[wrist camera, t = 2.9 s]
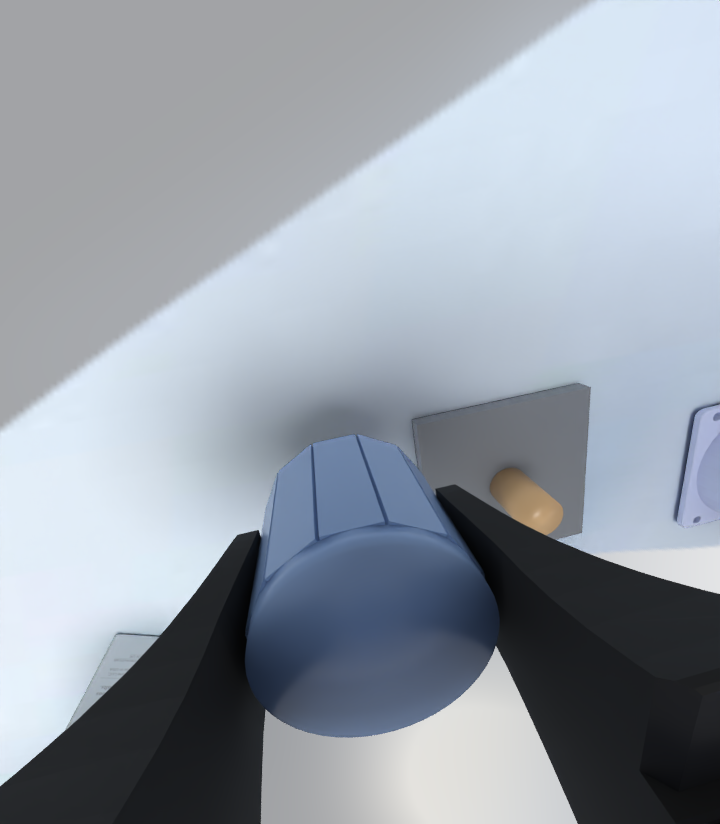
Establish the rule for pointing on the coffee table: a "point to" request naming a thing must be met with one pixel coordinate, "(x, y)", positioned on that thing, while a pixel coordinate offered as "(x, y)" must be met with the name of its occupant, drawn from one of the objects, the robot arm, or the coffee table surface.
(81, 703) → the skincare box
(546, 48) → the coffee table surface
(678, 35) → the coffee table surface
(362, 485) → the cap
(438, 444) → the plate
